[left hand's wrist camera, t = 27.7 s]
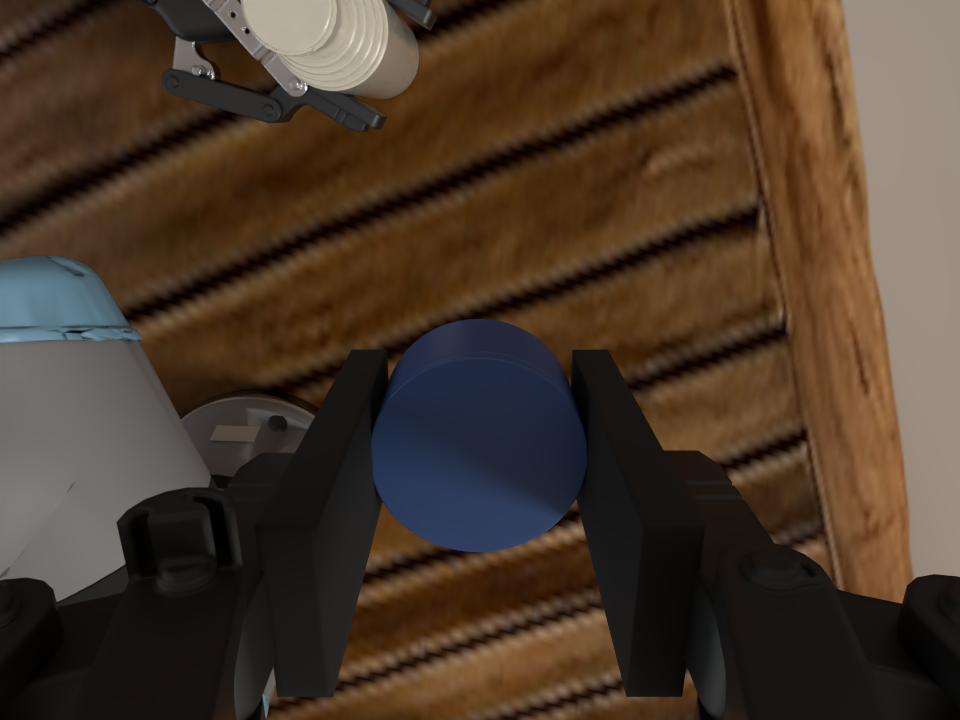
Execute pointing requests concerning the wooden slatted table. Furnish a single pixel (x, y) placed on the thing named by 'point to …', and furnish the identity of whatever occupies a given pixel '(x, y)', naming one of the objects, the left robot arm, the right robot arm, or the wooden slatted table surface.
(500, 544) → the cap
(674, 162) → the wooden slatted table surface
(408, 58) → the bottle
